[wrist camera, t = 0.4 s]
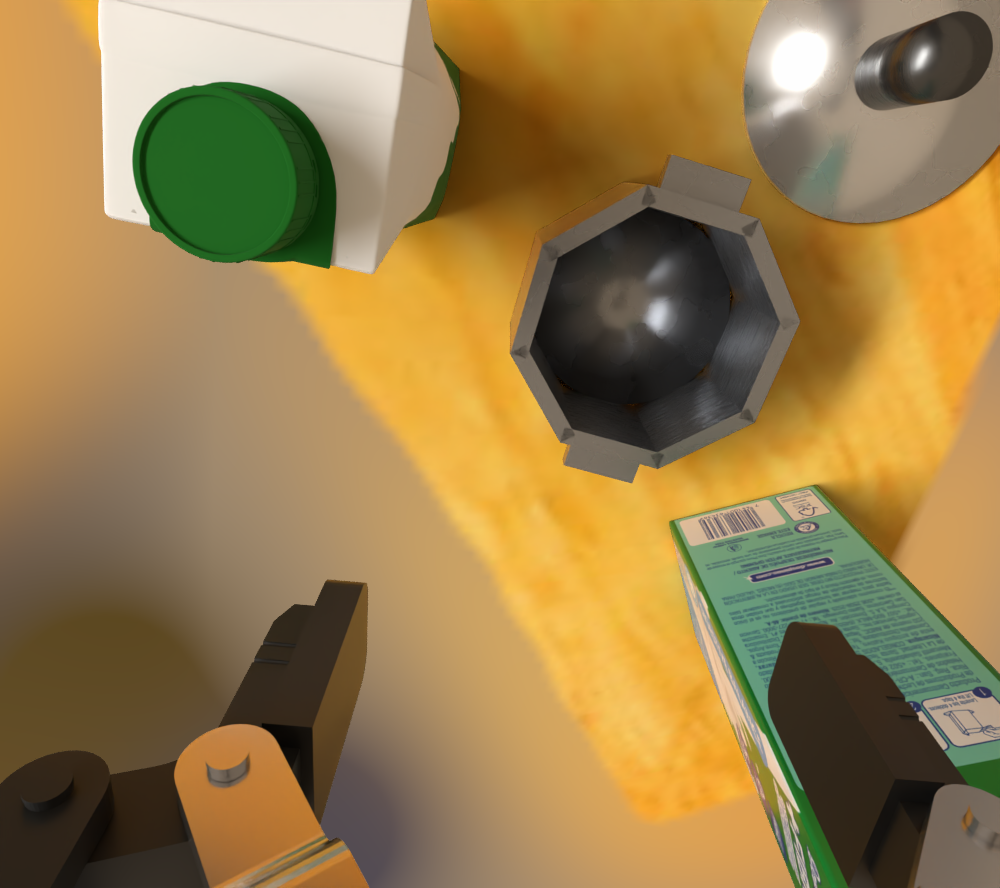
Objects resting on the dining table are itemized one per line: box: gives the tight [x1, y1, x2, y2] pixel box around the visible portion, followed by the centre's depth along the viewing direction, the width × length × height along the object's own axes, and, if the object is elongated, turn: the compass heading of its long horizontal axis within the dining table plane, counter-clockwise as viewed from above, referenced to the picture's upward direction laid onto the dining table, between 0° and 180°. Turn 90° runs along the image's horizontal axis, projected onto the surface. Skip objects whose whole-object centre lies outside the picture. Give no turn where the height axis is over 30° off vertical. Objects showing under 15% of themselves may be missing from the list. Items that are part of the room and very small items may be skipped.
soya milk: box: [98, 0, 461, 274], centre depth 25 cm, size 9×9×20 cm
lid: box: [741, 0, 1000, 223], centre depth 30 cm, size 14×14×6 cm
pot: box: [510, 155, 800, 483], centre depth 34 cm, size 15×12×7 cm
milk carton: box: [669, 485, 1000, 888], centre depth 31 cm, size 9×9×25 cm
